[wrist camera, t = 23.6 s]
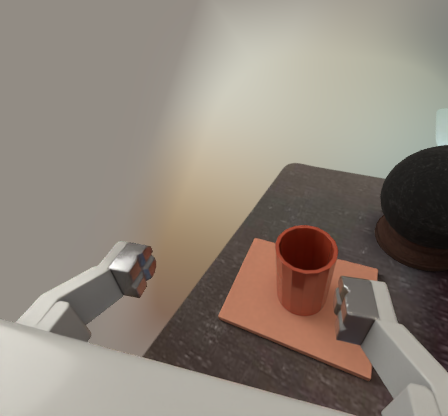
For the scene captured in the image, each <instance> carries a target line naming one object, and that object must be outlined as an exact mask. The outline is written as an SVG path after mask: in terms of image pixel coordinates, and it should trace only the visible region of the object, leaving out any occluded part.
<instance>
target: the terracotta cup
mask: <svg viewBox="0 0 448 416" xmlns="http://www.w3.org/2000/svg"><path fill="white" fill-rule="evenodd" d="M337 255H338V248H337V245H336V243H335V240H334V239H333V238H332V237H331V236H330V235H329V234H328V233H327V232H325V231H323V230H321V229H319V228H317V227H312V226H307V225H302V226H294V227H291V228H289V229H286V230H285V231H284V232H283V233H281V234H280V235H279V236H278V239H277V241H276V244H275V259H276V289H277V297H278V300H279V302H280V303H281V305H282V306H283V307H284V308H285V309H286V310H288V311H289V312H291V313H293V314H295V315H298V316H311V315H314V314H316V313H318V312H319V311H320V310H321V309H322V308H323V307H324V305H325V303H326V300H327V296H328V292H329V288H330V284H331V280H332V276H333V272H334V269H335V265H336V261H337Z"/></svg>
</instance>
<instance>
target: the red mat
mask: <svg viewBox="0 0 448 416" xmlns="http://www.w3.org/2000/svg"><path fill="white" fill-rule="evenodd" d="M275 244H276V243H273V242H269V241H265V240H261V239H257V238H254V240H253V243H252V245H251V247H250V249H249V251H248V253H247V256H246V258H245V260H244V262H243V264H242V266H241V268H240V271H239V273H238V275H237V277H236V279H235V281H234V283H233V286H232V288H231V290H230V292H229V294H228V296H227V298H226V301H225V303H224V305H223V307H222V309H221V311H220V313H219V316H218V317H219V319H220V320H222V321H224V322H227V323H229V324H232V325H234V326H237V327H239V328H241V329H244V330H246V331H249V332H251V333H253V334H256V335H258V336H261V337H263V338H265V339H268V340H270V341H273V342H275V343H278V344H280V345H282V346H285V347H287V348H290V349H292V350H294V351H297V352H299V353H302V354H304V355H306V356H309V357H311V358H314V359H316V360H318V361H321V362H323V363H326V364H328V365H331V366H333V367H335V368H338V369H340V370H343V371H345V372H347V373H350V374H352V375H355V376H357V377H359V378H362V379H364V380H367V381H369V380H370V379H371V371H372V364H371V362H370V361H369V359H368V358H367V356H366V355H365V353H364V351H363V350H362V348H361V346H360V345H356V344H352V343H348V342H344V341H339V340H336V332H335V321H336V318H337V316H336V314H335V313H334V308H333V299H334V293H335V289H336V288H338V287H339V285H338V280H339V278H340V276H347V277H354V278H361V279H368V280H373V281H377V277H378V269H375V268H371V267H367V266H363V265H359V264H355V263H351V262H347V261H343V260H339V259H337V261H336V265H335V269H334V272H333V276H332V280H331V284H330V288H329V292H328V296H327V300H326V303H325V305H324V307H323V308H322V309H321V310H320V311H319V312H318V313H316V314H314V315H311V316H298V315H295V314H293V313H291V312H289V311H288V310H286V309H285V308H284V307H283V306H282V305H281V303H280V302H279V300H278V297H277V289H276V259H275Z"/></svg>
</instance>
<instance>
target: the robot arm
mask: <svg viewBox="0 0 448 416" xmlns="http://www.w3.org/2000/svg"><path fill="white" fill-rule="evenodd" d="M152 252H153V251H152V248H151V246H146V245H140V244H136V243H129V242H124V241H119V242H117V243H116V245H115V246H114V247H113V248H112V249H111V250H110V252H109V253H108V254H107V256H106V257H105V258H104V259H103V260H102V261H101V263H100V264H99V265H98V266H97V267H93V268H91V269H89V270H87V271H85V272H83V273H82V274H80V275H78V276H76V277H74V278H72V279H70V280H69V281H67V282H65V283H63V284H61V285H59V286H57V287H55V288H53V289H51V290H50V291H48V292H46V293H44V294H42V295H41V296H40V297H39V298H38V299H37V300H36V301H35V302H34V303H33V304H32V305H31V306H30V308H29V309H28V310H27V311H26V312H25V313H24V314H23V315H22V316H21V317H20V318H19V319H18V320H17V322H11V321H7V320H4V319H0V416H356V415H352V414H349V413H345V412H341V411H338V410H334V409H330V408H327V407H323V406H319V405H316V404H312V403H308V402H305V401H301V400H297V399H294V398H290V397H286V396H283V395H279V394H275V393H272V392H268V391H264V390H261V389H257V388H253V387H250V386H246V385H242V384H239V383H235V382H231V381H228V380H224V379H220V378H217V377H213V376H209V375H206V374H202V373H198V372H195V371H191V370H187V369H184V368H180V367H176V366H173V365H169V364H165V363H162V362H158V361H154V360H151V359H147V358H143V357H139V356H136V355H132V354H129V353H125V352H121V351H118V350H114V349H110V348H106V347H103V346H99V345H95V344H92V343H88V340H89V339H90V337H91V332H90V330H89V329H88V328H87V326H86V324H88V323H89V322H91V321H92V320H93V319H94V318H96V317H97V316H98V315H100V314H101V313H102V312H103V311H105V310H106V309H107V308H108V307H110V306H111V305H113V304H114V303H115V302H116V301H118V300H119V299H120V298H122V297H123V295H126V296H131V297H137V298H140V297H141V295H142V293H143V292H144V290H145V289H146V287H147V282H146V281H147V280H149V279H151V278H152V276H153V274H154V273H155V269H156V260H155V258H154V257H153V256H152V255H151V253H152ZM338 285H339V287H338V288H336V289H335V293H334V299H333V308H334V313H335V314H336V316H337V318H336V321H335V332H336V340H339V341H344V342H348V343H352V344H356V345H360V346H361V348H362V350H363V351H364V353H365V355H366V356H367V358H368V359H369V361H370V362H371V364H372V366H373V367H374V369H375V370H376V372H377V373H378V375H379V376H380V378H381V380H382V381H383V383H384V384H385V386H386V387H387V389H388V390H389V392H390V394H391V395H392V397H393V398H394V400H393V401H392V402H391V403H390V404H389V405H388V406H387V407H386V408H385V409H384V410H383V411H382V412H381V413H382V416H448V372H447V371H446V370H445V369H444V368H443V367H442V366H441V365H440V364H439V363H438V362H437V361H436V359H435V358H434V357H433V356H432V355H431V354H430V353H429V352H428V351H427V350H426V349H425V348H424V347H423V346H422V345H421V343H420V342H419V341H418V340H417V339H416V338H415V337H414V336H413V335H412V334H411V333H410V332H409V331H408V330H407V329H406V328H405V326H404V325H402V324H398V322H397V318H396V315H395V311H394V308H393V304H392V301H391V298H390V294H389V291H388V287H387V285H386V283H385V282H379V281H373V280H368V279H361V278H354V277H347V276H340V278H339V280H338Z"/></svg>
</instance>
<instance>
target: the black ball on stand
mask: <svg viewBox="0 0 448 416" xmlns="http://www.w3.org/2000/svg"><path fill="white" fill-rule="evenodd" d="M380 197H381V207H382V211H383V213H384V215H383V216H382V217H381V218H380V219H379V221H378V222H377V225H376V228H375V237H376V239H377V242H378V243H379V245H380V247H381V248H382V249H383V250H384V251H385V252H386V253H387V254H388V255H389V256H391V257H392V258H393V259H395V260H397V261H398V262H400V263H402V264H405V265H407V266H409V267H412V268H416V269H419V270H425V271H444V270H448V145H444V146H437V147H432V148H427V149H424V150H421V151H419V152H416V153H414V154H412V155H410V156H408V157H406V159H404V160H402V161H401V162H400V163H398V164H397V165H396V166H395V167H394V168H393V170H392V171H391V172H390V173H389V175H388V176H387V177H386V179H385V181H384V183H383V187H382V191H381V196H380Z"/></svg>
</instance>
